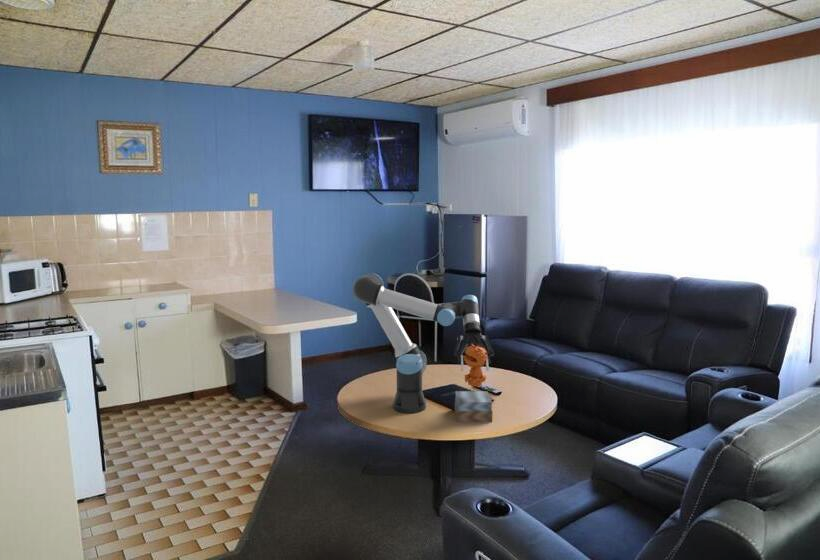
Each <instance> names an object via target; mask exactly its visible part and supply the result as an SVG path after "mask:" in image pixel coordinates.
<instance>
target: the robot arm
mask: <svg viewBox="0 0 820 560" xmlns="http://www.w3.org/2000/svg"><path fill="white" fill-rule="evenodd" d="M352 292H353V295H354V296H355V298H356V300H358V301H360V302H362V303H364V304H365V306H366V308H370V309H371V310H372V312H373V313H374V316H375V317H376V319H377V320H378V322H379V324H380V326H381V328H382V330H383V332H384V333H385V335H386V337H387V338H388V340H389V342H390V344H391V346H392V348H393V349H394V351H395V356H394V357H395V359H396V364H395V367H396V391H395V395H394V397H393V401H392V409H394V411H396V412H399V413H406V414H414V413H420V412H423V411H425V410H426V408H427V402H426V398H425V396H424V392H423V375H424V372H425V371H426V369H427V363H428V362H427V361H428V359H427V356H426V354H425V353H424V352H423V351H422V350H421V349H420V348H419V346H418V345H417V344H416V343H413V342H412V340H411V339H410V337H409V335H408V333H407V332H406V330H405V328H404V327H403V325H402V322H401V321H400V320H399V318H398V316H397V314H396V312H395V311H394V309H395V310H397V311H400V312H404V313H407V314H411V315H414V316H417V317H421V318H422V319H427V320H430V321H433V322H437V323H439V324H440V325H441V326H443V327H448V326H451V325H453V323H454V322H455V319H460V318H462V321H463V322H462V323H463V324H462V325H463V335H460V334H457V338H456V343H455V347H454V351H453V356H454V357H457V362H458V364H460V370H461V372H463V371H464V357H463V356H464V355H463V354H464V353H465V350H466V348H467V347H469V346H472V345H474V346H477V344H478V346H480V347H482V348H484V349H485V350H486V352H487V354H488V359H487V357H486V361H485V362H486V365H485V370H486V372H488V371H489V368H490V366H489V364H491V357H494V354H495V351H494V349H493V346H492V344H491V343H490V340H489V335H488V334H485V335H483V334H482V333H481V322H480V320H481V319H480V310H479V301H478V298H477V296H476V295H473V294H466V295H463V297H462V298H461V300H460V301H454V302H453V301H452V302H442V303H434V302H432V301H428V300H425V299H420V298H417V297H415V296H412V295H411V296H410V295H409V294H405V293H401V292H398V291H394V290H392V289H389V288H386V287H385V283H384V280H383V279H382V278H381V276H380V275H378V274H376V273H367V274H366V273H365V274H364V275H363V276H360V277H359V278H357V279H356V280H355V281H354V283H353V286H352ZM482 339H483V341H484V344H485V345H484V344H483V342H482ZM462 340H464V341H465V342H464V343H463V345H462V346H461V348H460V344H461V341H462ZM471 344H472V345H471ZM468 345H469V346H468ZM459 348H460V350H459ZM485 354H486V353H485ZM487 354H486V356H487Z"/></svg>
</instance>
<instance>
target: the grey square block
mask: <svg viewBox="0 0 820 560" xmlns="http://www.w3.org/2000/svg"><path fill="white" fill-rule="evenodd" d="M492 403H493V402H492V399H491V397H490V394H489V392H488V391H484V390H483V391H478V390H477V391H474V390H473V391H471V390H469V391H468V390H467V391H466V390H465V391H464V390H463V391H457V390H455V399H454V413H455V417H456V418H455V419H456V422H457V423H459V422H463V423H465V422H466V423H467V422H468V423H469V422H471V423H472V422H473V423H474V422H475V423H476V422H477V423H479V422H480V423H484V422H485V423H486V422H487V423H490V422H491V423H492V422H493V408H492V407H493V404H492Z"/></svg>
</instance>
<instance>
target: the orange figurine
mask: <svg viewBox="0 0 820 560" xmlns="http://www.w3.org/2000/svg"><path fill="white" fill-rule="evenodd" d="M464 353H465V354H466V355H463V362H464V363H465V364H466V366H468V367H469V368H470V370H469V373H468V374H464V382H465V384H468V385H469V386H471V387H480V386H483V385H482V384H483V383H485V382H486V379H487V375H484V374H483V371H482V368H483V367H484V365H485V366H486V357H487V359H488V354H487V352H486V350H485V349H484V348H482V347H480V346H478V344H476V345H473V344H471V345H469V346H467V347H466V349H465V350H464ZM485 353H486V354H487V356H486V354H485Z"/></svg>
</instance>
